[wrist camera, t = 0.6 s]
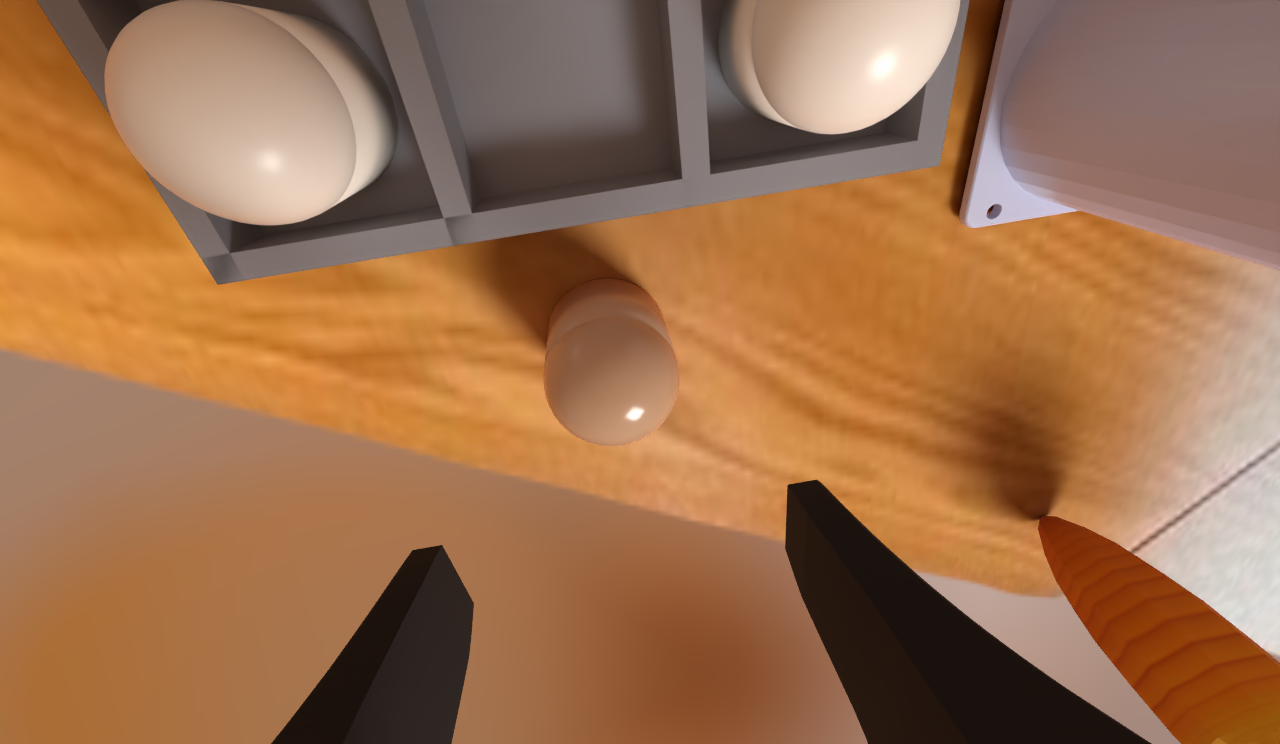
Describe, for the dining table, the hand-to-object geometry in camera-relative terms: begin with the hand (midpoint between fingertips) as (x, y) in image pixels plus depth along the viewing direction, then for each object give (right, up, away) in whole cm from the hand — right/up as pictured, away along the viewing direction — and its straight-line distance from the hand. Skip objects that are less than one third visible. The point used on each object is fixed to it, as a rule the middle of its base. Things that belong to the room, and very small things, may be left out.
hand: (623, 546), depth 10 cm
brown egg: (-1, +5, +8) cm, 10 cm away
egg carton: (-2, +15, +2) cm, 15 cm away
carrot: (+23, -4, +18) cm, 29 cm away
